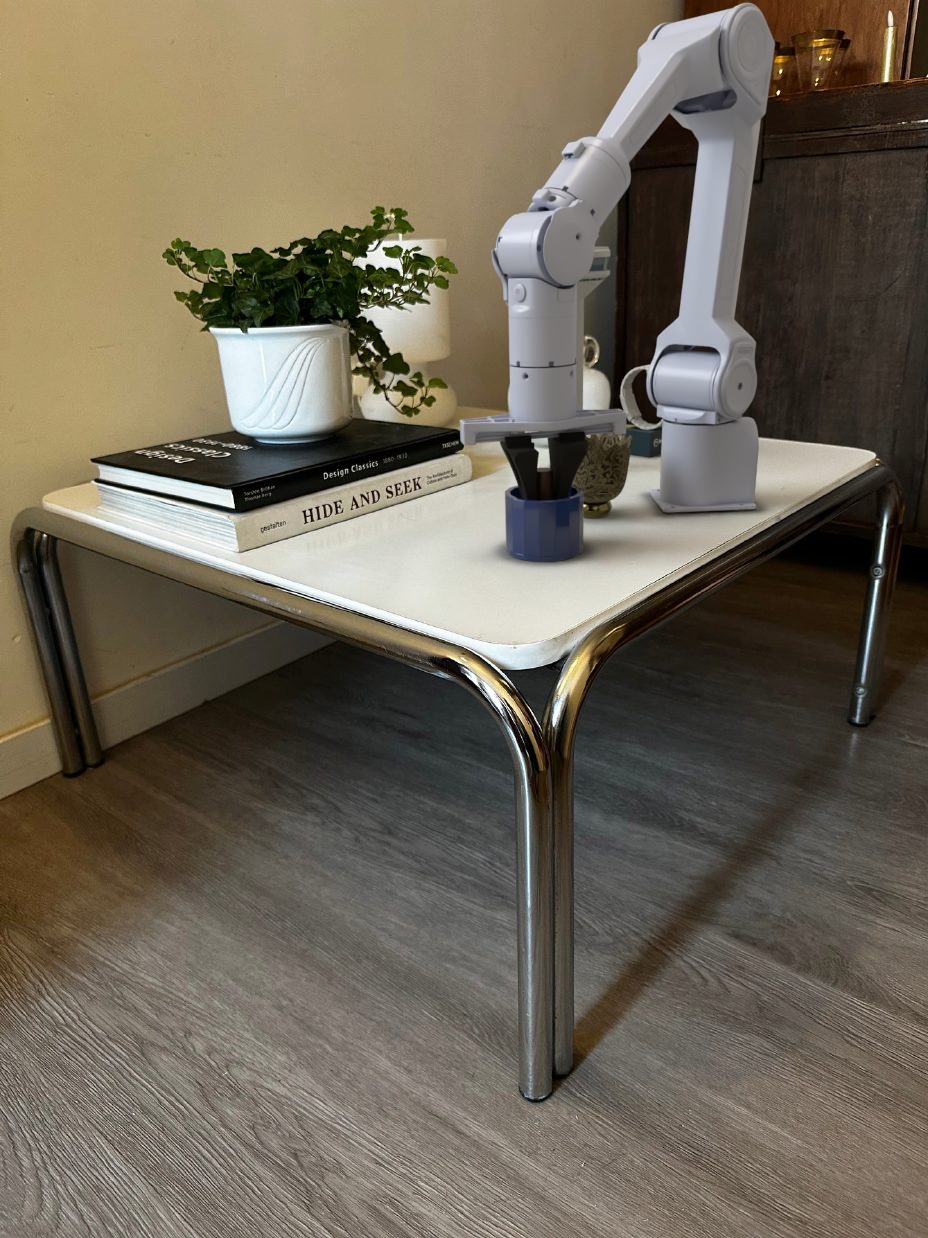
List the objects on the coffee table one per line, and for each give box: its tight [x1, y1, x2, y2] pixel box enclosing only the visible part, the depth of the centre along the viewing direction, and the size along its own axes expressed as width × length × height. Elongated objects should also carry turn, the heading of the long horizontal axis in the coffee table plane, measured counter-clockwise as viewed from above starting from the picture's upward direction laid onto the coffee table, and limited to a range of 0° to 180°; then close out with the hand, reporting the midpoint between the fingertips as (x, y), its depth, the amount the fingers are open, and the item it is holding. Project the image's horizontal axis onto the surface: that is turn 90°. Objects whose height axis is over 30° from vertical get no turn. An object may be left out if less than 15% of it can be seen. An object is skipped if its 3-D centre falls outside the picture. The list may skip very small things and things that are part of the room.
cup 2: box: [572, 433, 632, 519], centre depth 94 cm, size 8×7×8 cm
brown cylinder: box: [536, 467, 554, 501], centre depth 84 cm, size 2×2×7 cm
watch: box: [619, 364, 663, 458], centre depth 120 cm, size 6×8×11 cm
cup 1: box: [504, 484, 585, 563], centre depth 84 cm, size 7×7×6 cm
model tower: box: [565, 246, 611, 430], centre depth 108 cm, size 8×8×30 cm
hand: (543, 517), depth 84 cm, fingers closed on brown cylinder, 2 cm apart
